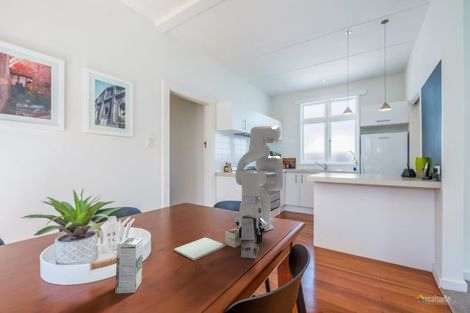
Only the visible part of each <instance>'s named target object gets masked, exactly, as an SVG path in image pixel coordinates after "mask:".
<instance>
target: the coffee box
mask: <svg viewBox="0 0 470 313" xmlns="http://www.w3.org/2000/svg"><path fill="white" fill-rule="evenodd" d="M257 234H258V233H257V227H256V218H251V217H245V216H243V217H242V232H241V245H240V246H241V248H240V249H241V250H240V251H241V252H240V254H241V255H240V257H241V258H249V259H257V256H258V253H259V247H260V246H259V245H260V244H257Z"/></svg>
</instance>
